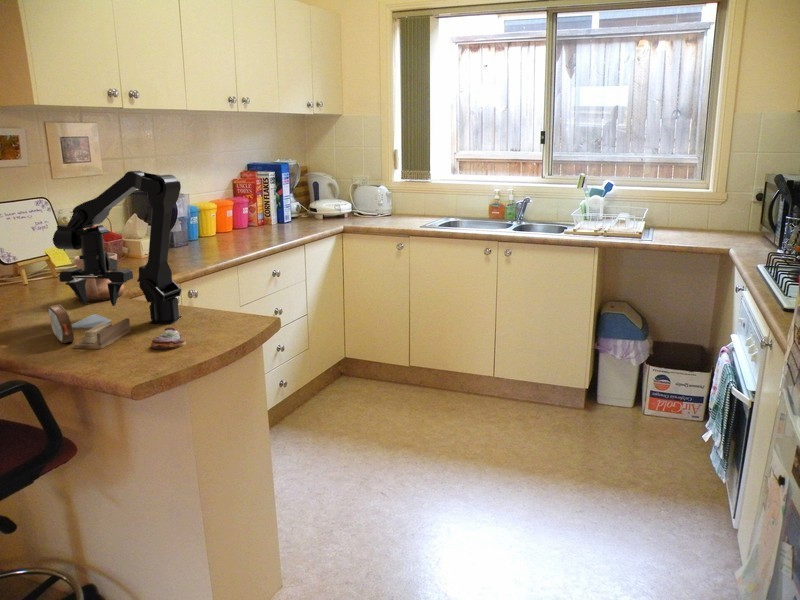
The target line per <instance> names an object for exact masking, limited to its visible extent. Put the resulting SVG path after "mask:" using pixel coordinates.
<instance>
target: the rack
mask: <svg viewBox="0 0 800 600" xmlns="http://www.w3.org/2000/svg"><path fill="white" fill-rule="evenodd" d="M130 323H131V321H130V317H129V318H128V317H127V318H125V319H122V320H121V321H118V322H117V323H115V324H112V326H110V327H108V328H106V329H104V330H102V331H101V332H99V333H97V342H95V343H82V340H81V341H79V342H77V343H75V344H73V348H74V349H92V350H93V349H95V350H99V349H104V348H105V347H108V346H109V345H111V344H112V343H114V342H116V341H117V340H119V339H121V338H122V337H124V336H125V335H127V334H128V333H130V332H131V324H130Z"/></svg>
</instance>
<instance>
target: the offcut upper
mask: <svg viewBox="0 0 800 600" xmlns="http://www.w3.org/2000/svg"><path fill="white" fill-rule="evenodd" d="M112 325H113V324H112V323H110V322H108V323H102V324H100V325H98V326H96V327H94V328H91V329H88V330H86V331H84V337H96V336H97V333H99V332H101V331H102V330H104V329H106V328H108V327H110V326H112Z"/></svg>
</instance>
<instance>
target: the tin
mask: <svg viewBox="0 0 800 600" xmlns="http://www.w3.org/2000/svg"><path fill="white" fill-rule="evenodd" d="M47 307H48V308H47V312H48V315H49V319H50V326H51V330H52V333H53V334H54V336H55V337H56V339H57V340H58V341H59V343H61V344H68V343H73V342H74V341H75V336H74V335H75V334H74V329H73V328H72V324H73V323H72V321H71V317H70V315H69V313H68V311H67V309H65V308H64V307H63V306H62V305H61V304H60V303H58V304H55V305H50V306H47Z"/></svg>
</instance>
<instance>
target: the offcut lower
mask: <svg viewBox="0 0 800 600" xmlns="http://www.w3.org/2000/svg"><path fill="white" fill-rule="evenodd" d="M81 341H82V343H95V342H97V336H96V337H85V336H82V337H81Z"/></svg>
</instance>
